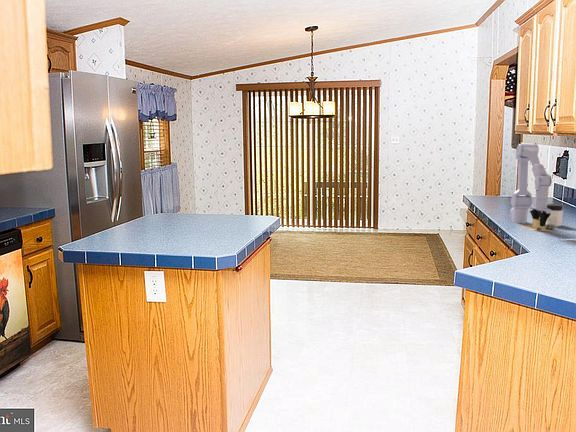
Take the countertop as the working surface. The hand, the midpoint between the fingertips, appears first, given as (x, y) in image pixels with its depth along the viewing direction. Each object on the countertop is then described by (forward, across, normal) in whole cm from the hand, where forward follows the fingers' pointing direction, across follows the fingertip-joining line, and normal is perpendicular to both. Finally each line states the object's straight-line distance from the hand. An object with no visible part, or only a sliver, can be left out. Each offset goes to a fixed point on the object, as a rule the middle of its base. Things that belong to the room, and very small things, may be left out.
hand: (538, 225), depth 276 cm
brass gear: (+1, 0, 0) cm, 1 cm away
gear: (+2, 0, +6) cm, 7 cm away
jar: (+4, -12, +16) cm, 21 cm away
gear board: (+3, -4, +2) cm, 6 cm away
